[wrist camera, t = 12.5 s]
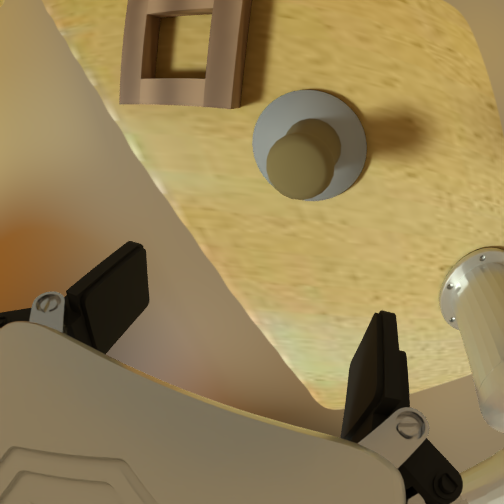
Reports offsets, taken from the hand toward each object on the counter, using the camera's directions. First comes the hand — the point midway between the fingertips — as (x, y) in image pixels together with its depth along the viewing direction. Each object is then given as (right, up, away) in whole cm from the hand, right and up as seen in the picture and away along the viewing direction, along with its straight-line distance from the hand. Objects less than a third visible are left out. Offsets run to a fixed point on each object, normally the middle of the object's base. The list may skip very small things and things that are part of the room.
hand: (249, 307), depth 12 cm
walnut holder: (-7, +25, +18) cm, 32 cm away
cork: (+6, +13, +19) cm, 24 cm away
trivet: (+6, +13, +20) cm, 25 cm away
